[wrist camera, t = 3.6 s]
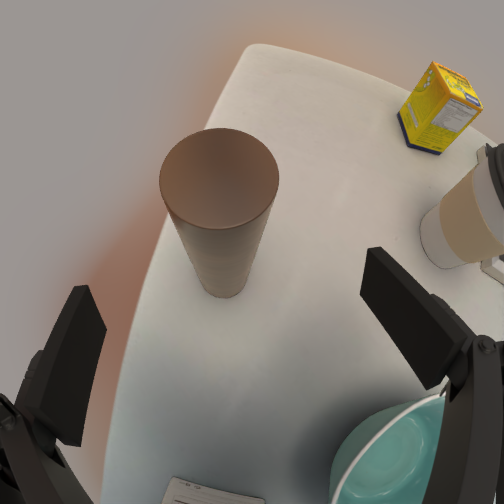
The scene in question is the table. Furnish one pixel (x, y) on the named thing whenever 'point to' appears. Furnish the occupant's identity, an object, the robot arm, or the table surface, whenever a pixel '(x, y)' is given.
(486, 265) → the picture frame
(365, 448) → the bowl
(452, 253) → the coffee cup
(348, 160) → the table surface
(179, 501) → the white product box
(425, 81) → the supplement box
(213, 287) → the tall brown cylinder
